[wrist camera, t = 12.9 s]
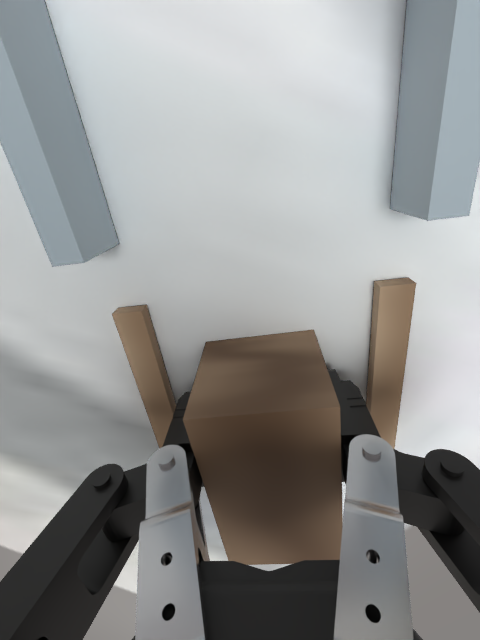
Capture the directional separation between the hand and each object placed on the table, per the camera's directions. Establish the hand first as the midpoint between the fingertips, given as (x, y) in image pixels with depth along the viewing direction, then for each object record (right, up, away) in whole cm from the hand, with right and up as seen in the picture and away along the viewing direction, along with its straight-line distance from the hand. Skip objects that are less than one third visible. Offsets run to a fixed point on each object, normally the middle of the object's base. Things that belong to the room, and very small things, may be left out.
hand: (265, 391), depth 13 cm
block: (0, -1, +1) cm, 1 cm away
